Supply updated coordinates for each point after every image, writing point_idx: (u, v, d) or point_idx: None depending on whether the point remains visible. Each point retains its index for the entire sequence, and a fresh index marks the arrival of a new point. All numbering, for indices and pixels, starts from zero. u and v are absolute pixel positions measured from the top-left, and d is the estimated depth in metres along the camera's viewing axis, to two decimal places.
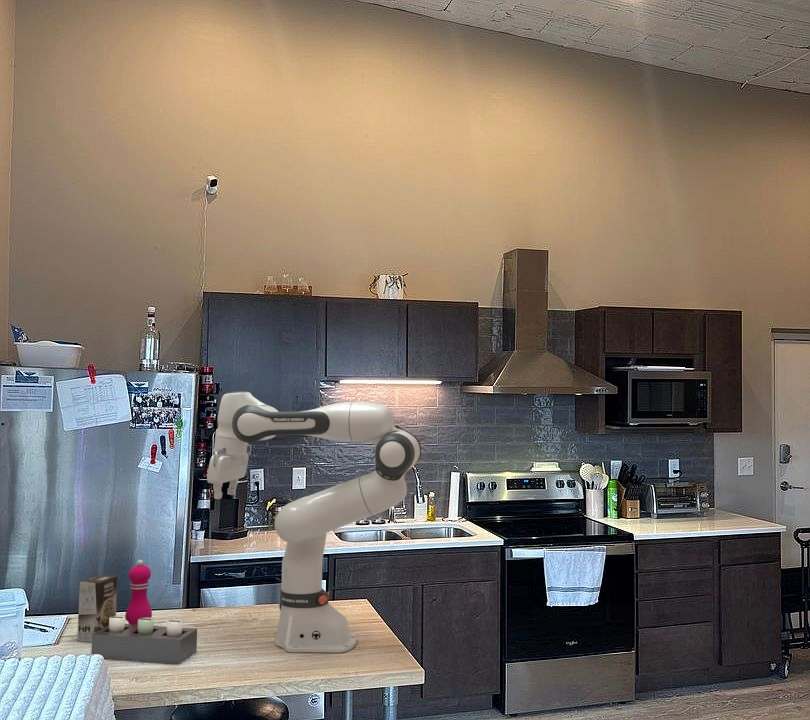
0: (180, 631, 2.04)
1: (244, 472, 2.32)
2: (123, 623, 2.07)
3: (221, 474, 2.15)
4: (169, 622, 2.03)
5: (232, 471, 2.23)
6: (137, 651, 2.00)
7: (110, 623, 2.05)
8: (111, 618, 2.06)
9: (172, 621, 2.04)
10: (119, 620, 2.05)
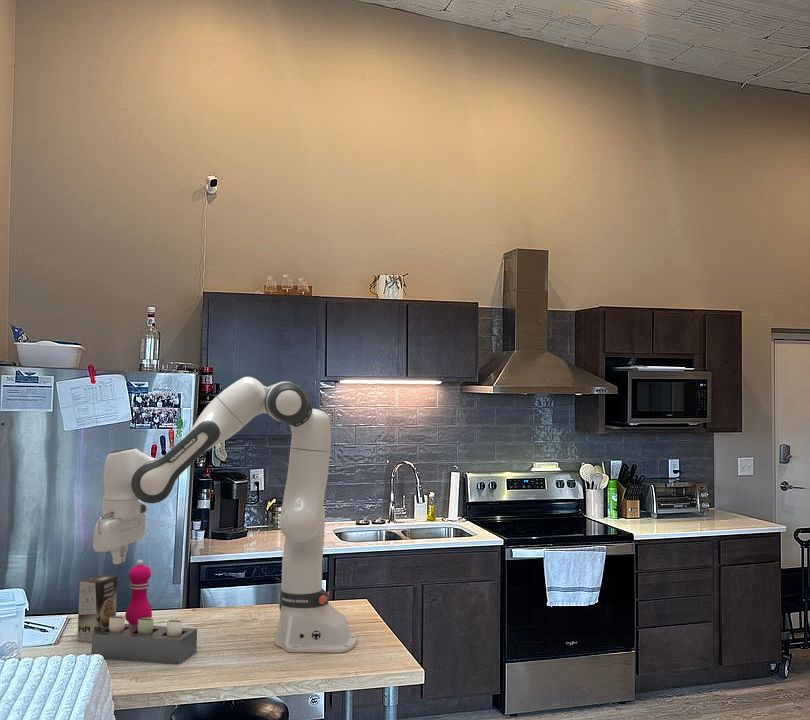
0: (180, 631, 2.04)
1: (142, 533, 2.16)
2: (123, 623, 2.07)
3: (108, 540, 1.99)
4: (169, 622, 2.03)
5: (124, 535, 2.07)
6: (137, 651, 2.00)
7: (110, 623, 2.05)
8: (111, 618, 2.06)
9: (172, 621, 2.04)
10: (119, 620, 2.05)
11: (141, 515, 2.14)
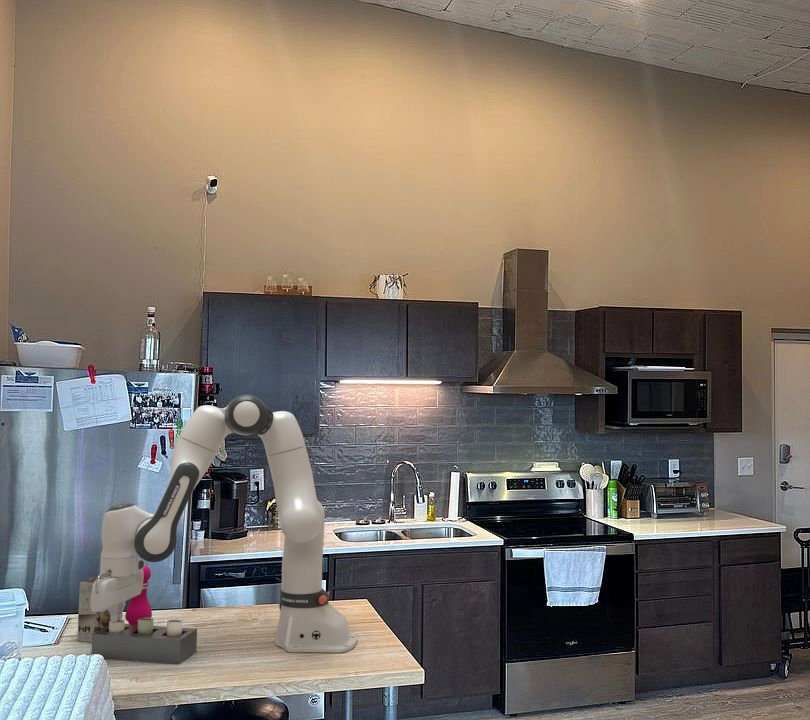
0: (180, 631, 2.04)
1: (140, 589, 2.15)
2: (123, 627, 2.07)
3: (106, 600, 1.99)
4: (169, 622, 2.03)
5: (122, 592, 2.06)
6: (137, 651, 2.00)
7: (110, 627, 2.05)
8: (110, 621, 2.06)
9: (172, 621, 2.04)
10: (119, 624, 2.05)
11: (139, 571, 2.13)
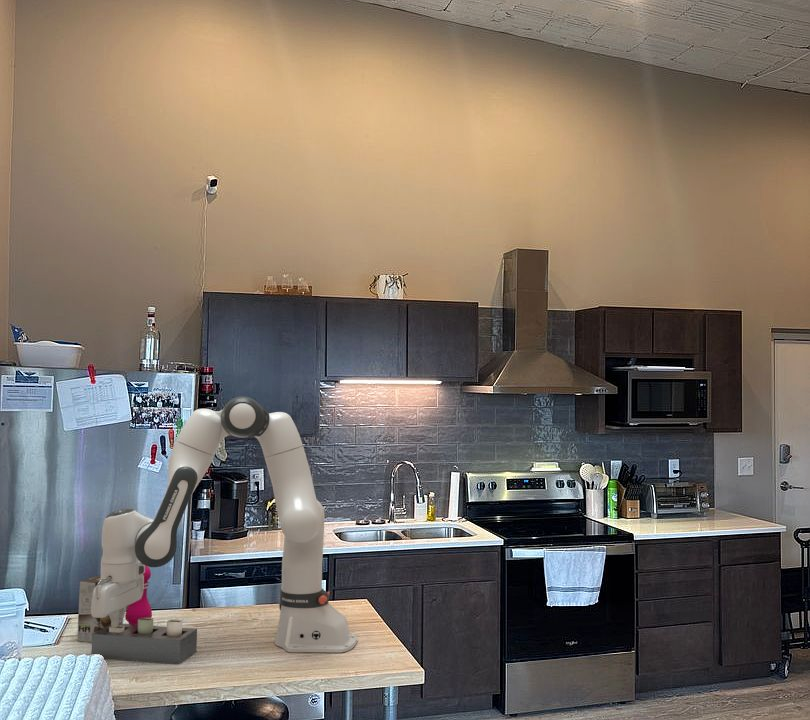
0: (180, 631, 2.04)
1: (140, 594, 2.15)
2: None
3: (106, 606, 1.99)
4: (169, 622, 2.03)
5: (122, 598, 2.06)
6: (137, 651, 2.00)
7: None
8: (110, 627, 2.06)
9: (172, 621, 2.04)
10: (119, 630, 2.05)
11: (139, 576, 2.13)
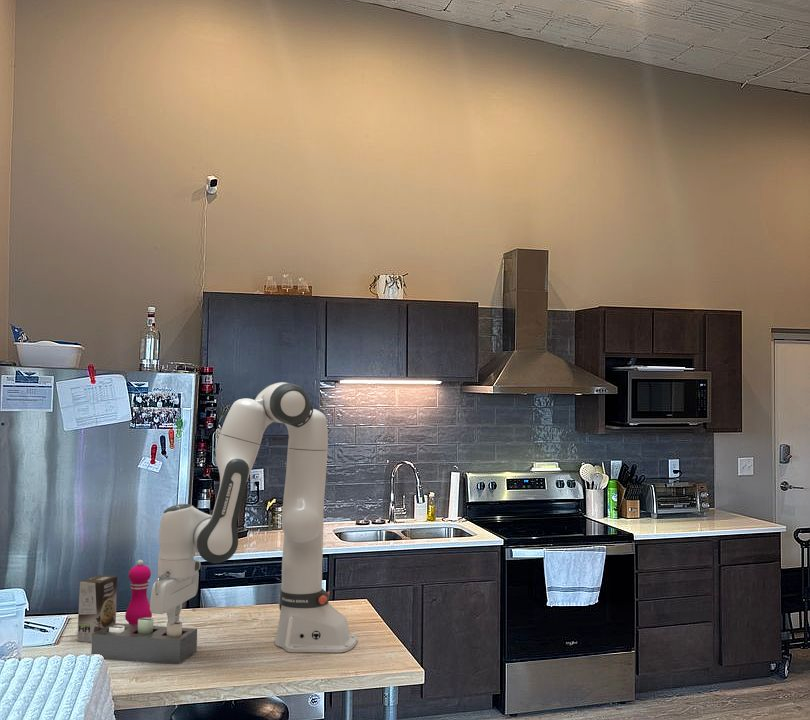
0: (180, 633, 2.04)
1: (195, 590, 2.13)
2: None
3: (165, 602, 1.96)
4: (169, 624, 2.03)
5: (179, 594, 2.03)
6: (137, 651, 2.00)
7: None
8: (110, 627, 2.06)
9: None
10: (119, 630, 2.05)
11: (195, 572, 2.10)
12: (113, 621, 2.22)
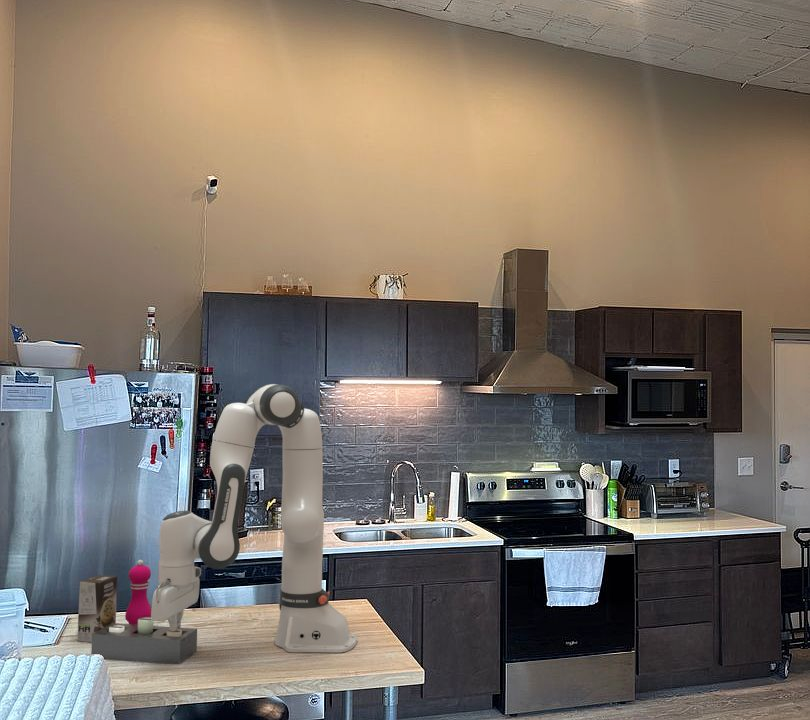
0: None
1: (196, 597, 2.13)
2: None
3: (167, 609, 1.96)
4: (169, 632, 2.03)
5: (180, 601, 2.04)
6: (137, 651, 2.00)
7: None
8: (110, 627, 2.06)
9: (172, 631, 2.04)
10: (119, 630, 2.05)
11: (196, 579, 2.10)
12: (113, 621, 2.22)
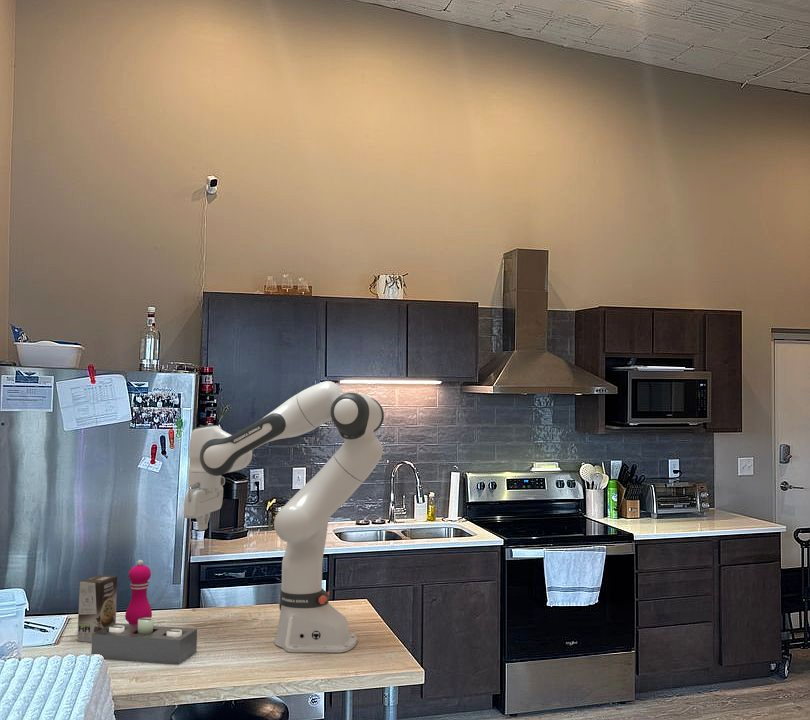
0: None
1: (220, 504, 2.37)
2: None
3: (197, 508, 2.20)
4: (169, 632, 2.03)
5: (208, 504, 2.28)
6: (137, 651, 2.00)
7: None
8: (110, 627, 2.06)
9: (172, 631, 2.04)
10: (119, 630, 2.05)
11: (220, 487, 2.35)
12: (113, 621, 2.22)
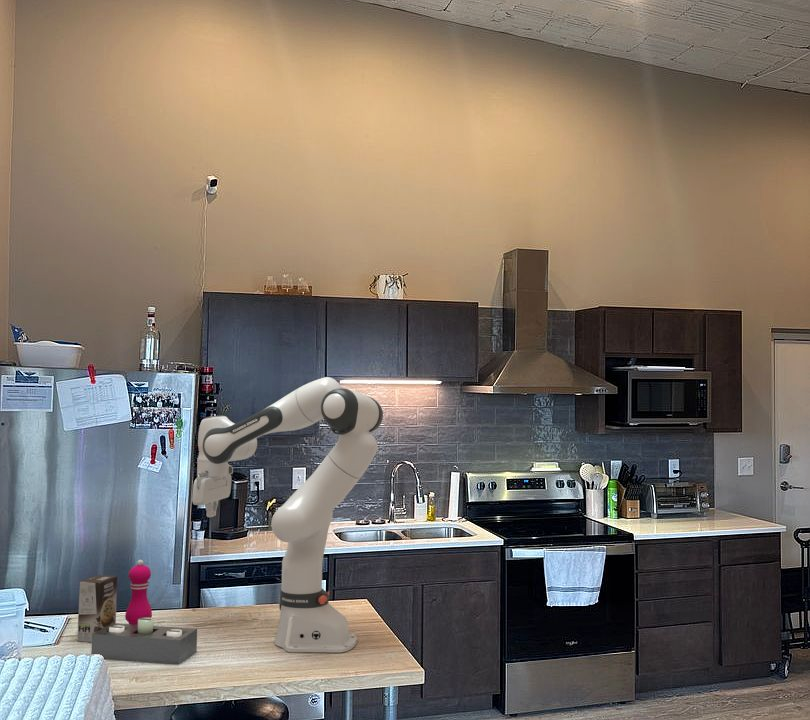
0: None
1: (228, 492, 2.45)
2: None
3: (205, 495, 2.28)
4: (169, 632, 2.03)
5: (216, 492, 2.36)
6: (137, 651, 2.00)
7: None
8: (110, 627, 2.06)
9: (172, 631, 2.04)
10: (119, 630, 2.05)
11: (228, 475, 2.43)
12: (113, 621, 2.22)
